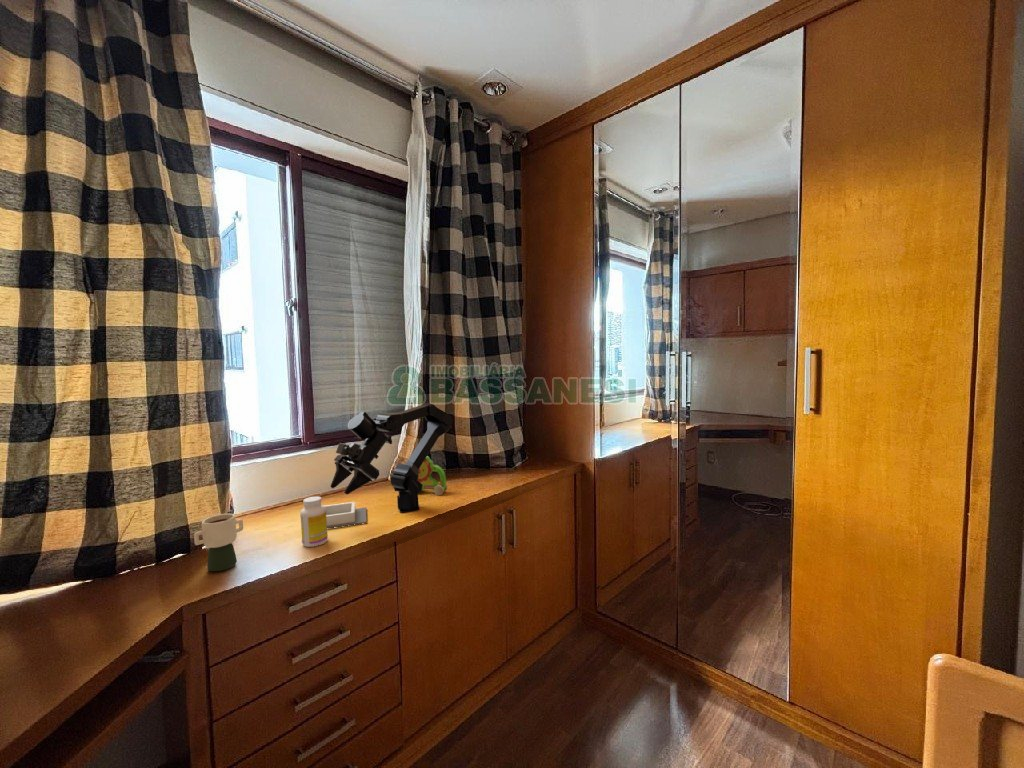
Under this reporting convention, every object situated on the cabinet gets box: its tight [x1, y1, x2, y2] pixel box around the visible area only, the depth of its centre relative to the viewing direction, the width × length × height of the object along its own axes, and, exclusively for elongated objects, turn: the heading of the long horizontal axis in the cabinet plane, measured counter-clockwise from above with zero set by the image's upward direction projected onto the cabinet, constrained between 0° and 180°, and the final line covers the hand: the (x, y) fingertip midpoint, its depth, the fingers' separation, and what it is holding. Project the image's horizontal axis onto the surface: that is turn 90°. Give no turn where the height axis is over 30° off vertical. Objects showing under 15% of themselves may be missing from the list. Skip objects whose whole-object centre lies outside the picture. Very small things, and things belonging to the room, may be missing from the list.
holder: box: [323, 501, 367, 529], centre depth 139 cm, size 18×14×4 cm
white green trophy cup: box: [193, 513, 244, 572], centre depth 108 cm, size 11×7×13 cm, turn 145°
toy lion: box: [417, 455, 448, 496], centre depth 164 cm, size 16×5×15 cm, turn 76°
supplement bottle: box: [299, 496, 329, 548], centre depth 122 cm, size 7×7×13 cm
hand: (338, 490), depth 127 cm, fingers open, 9 cm apart
